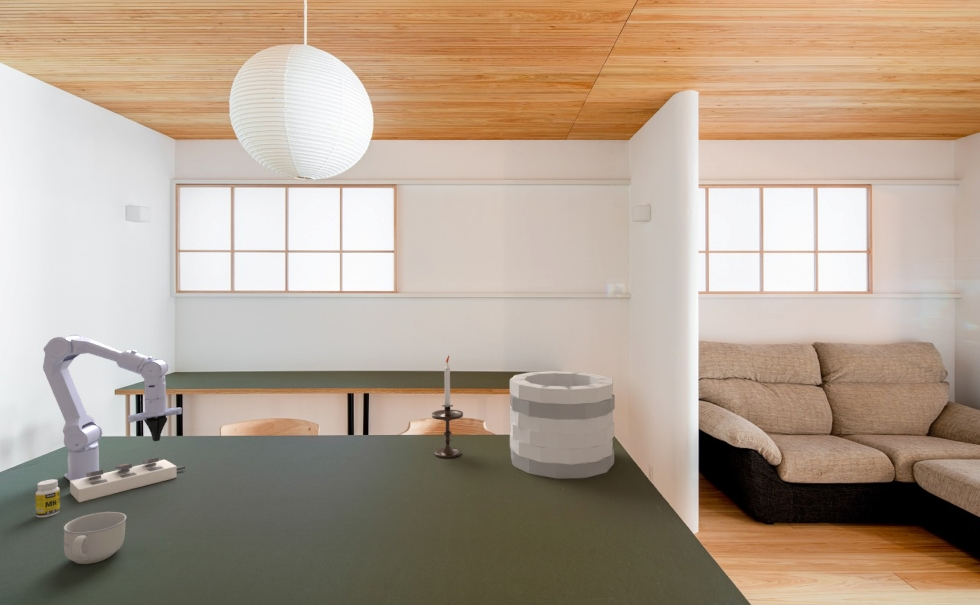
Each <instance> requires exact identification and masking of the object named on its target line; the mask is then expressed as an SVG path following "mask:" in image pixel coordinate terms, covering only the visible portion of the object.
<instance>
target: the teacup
mask: <svg viewBox="0 0 980 605" xmlns="http://www.w3.org/2000/svg"><path fill="white" fill-rule="evenodd" d="M126 521H127V515H126V514H125V513H123V512H117V511H103V512H97V513H90V514H86V515H82V516H79V517H77V518H74V519H72V520H70V521H69V522H66V523H65V525H64V526H63V532H64V534H63V551H64V555H65V557H66V559H68V560H70V561H72V562H74V563H75V564H80V565H90V564H96V563H99V562H102V561H104V560H106V559H109V558H111V556H113V555H114V554H115V553H116V552H118V551H119V549H120V548H121V547H122V546H123V544H124V541H125V534H126Z"/></svg>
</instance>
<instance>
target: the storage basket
mask: <svg viewBox="0 0 980 605" xmlns="http://www.w3.org/2000/svg"><path fill="white" fill-rule="evenodd" d="M512 376H513V377H511V378H510V379H509V394H510V396H509V397H510V401H509V402H510V406H509V431H510V432H509V448H510V459H511V463H512V464H511V465H512V466H513V467H515V468H517V469H519V470H521V471H523V472H525V473H527V474H529V475H535V476H541V477H547V478H551V479H552V478H553V479H587V478H590V477H594V476H598V475H601V474H605V473H608V471H609V470H610V469H611V468H612V467H613V465H614V464H615V449H614V447H613V442H614V441H613V440H614V439H613V438H614V437H615V422H614V410H615V407H616V406H615V403H616V402H615V401H616V400H615V398H616V397H615V394H613V392H614V390H613V389H614V385H613V384H614V382H613V381H614V379H613V378H610V377H607V376H605V375H601V374H595V373H589V372H588V373H587V372H581V371H563V370H562V371H561V370H559V371H558V370H557V371H556V370H549V371H548V370H546V371H530V372H525V373H520V374H515V375H512Z"/></svg>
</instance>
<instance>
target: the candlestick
mask: <svg viewBox="0 0 980 605" xmlns="http://www.w3.org/2000/svg"><path fill="white" fill-rule="evenodd" d="M449 358H450V355H448V356H447V357H446V360H445V363H446V365H445V367H444V404H443V405H441V407H442V408H444V409H440V410H439V409H438V410H435V411H433V412H431V418H433V419H434V420H440V421H444V422H445V430H444V431H443V435H444V436H445V438H444V439H443V440H444V442H445V446H444V447H441V448H438V449H436V450H434V456H435V458H440V459H453V458H454V459H455V458H457V457H458V458H459V456H461V454H462V452H461V450H460V449H459V448H456V447H451V445H450V442H452V439H451V436H452V433H453V432H452V430H450V422H451V421H454V420H459V419H462V418H463V417H464V412H463V411H461V410H458V409H451V408H452V407H454V405H453V404H451V367H449V360H450V359H449Z"/></svg>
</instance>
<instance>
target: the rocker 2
mask: <svg viewBox="0 0 980 605" xmlns="http://www.w3.org/2000/svg"><path fill="white" fill-rule="evenodd" d="M132 467H133V466H132V463H123V464H119V465H116V466H115V471H116V470H118V471H121V470H126V469H130V468H132Z"/></svg>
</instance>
